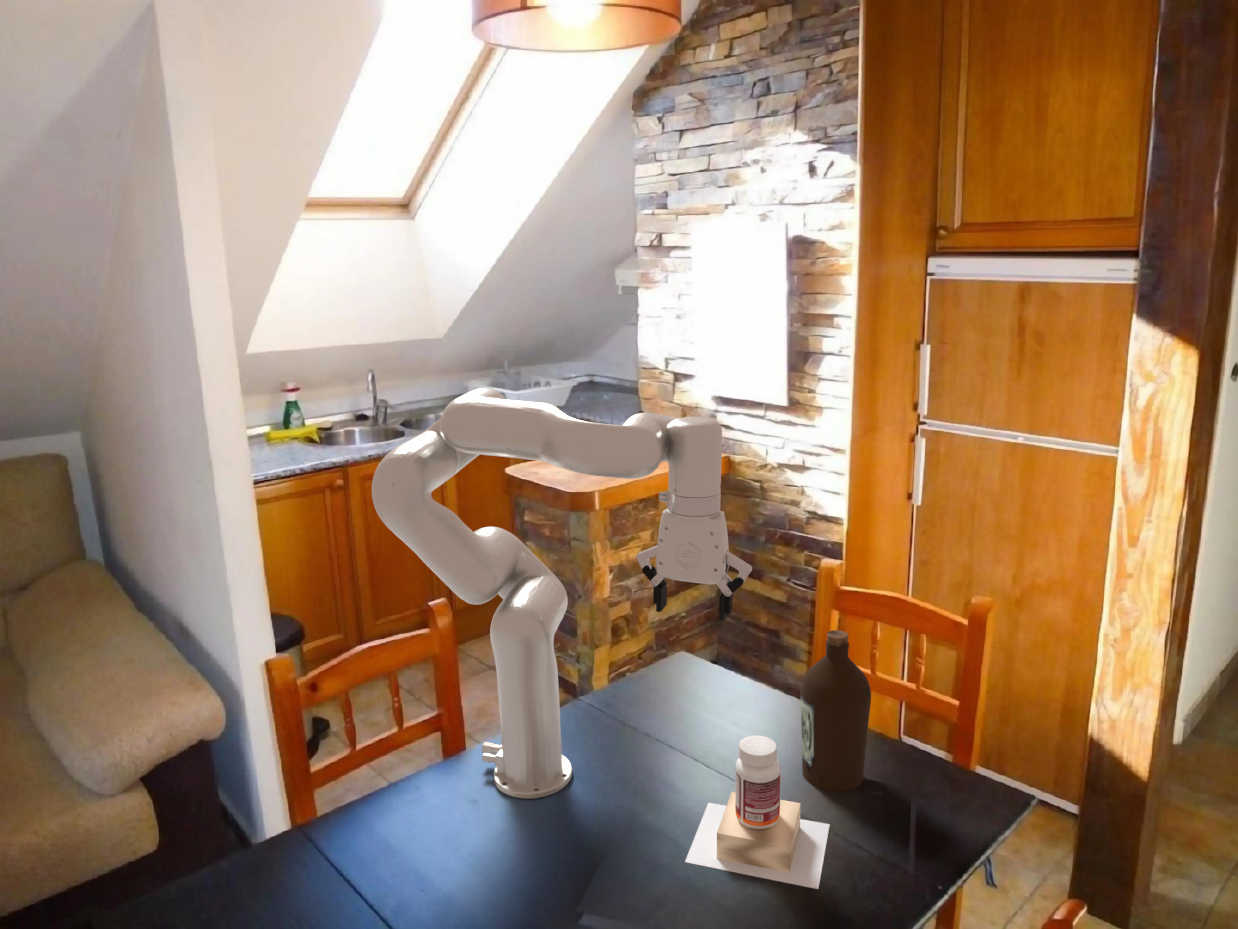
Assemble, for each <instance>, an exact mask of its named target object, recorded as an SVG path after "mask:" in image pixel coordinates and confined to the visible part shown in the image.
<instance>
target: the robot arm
mask: <svg viewBox="0 0 1238 929" xmlns="http://www.w3.org/2000/svg"><path fill="white" fill-rule="evenodd" d="M722 447H723V428H722V425H721V423H720V422H719V421H717V420H716V419H713V418H710V417H704V416H685V417H677V416H670V415H669V416H668V415H666V414H665V415H664V414H659V413H654V412H653V413H652V412H638V413H635V414H633V415H631V416H630V417H628V418H627V419H626V420H625V421H624V423H623V424H620V425H619V424H612V423H611V424H609V423H600V422H593V421H592V422H591V421H587V420H586V421H585V420H583V419H582V420H581V419H578V418H574V417H572V416H570V415H567V414H566V413H564V412H563V411H562V410H560V408H559V407H557V406H556V405H554V404H552V403H548V402H539V401H531V400H530V401H529V400H518V399H507V398H506V397H505V396H504V395H503V394H502V393H500V392H499V391H497V390H494V389H491V388H487V387H486V388H485V387H484V388H476V389H473V390H470V391H468V392H466V393H464V394H461V395H460V396H458V397H456V398H454V399H453V400H452V401H450V402H449V403H448V404H447V405H446V406H445V408H444V410H443V411H442V413H441V416H440V418H439V419H438V420H436V421H435V422H434V423H432V424H431V426H429V427H428V428H426V430H424V431H423V432H421V433H419V434H418V435H416V436H414V437H413V438H411V439H409V440H407V441H405V442H403V443H401V444H400V445H398V446H396V447H395V448H393V449H392V450H390V451H388V453H387V454H386V455H385V456H384V457H383V458H382V459H381V461H380V462H379V463H378V465H377V467H376V468H375V471H374V474H373V477H372V481H371V482H372V483H371V498H372V503H373V506H374V510H375V511H376V514H377V516H378V517H379V519H380V520H381V522H382V523H383V524H384V525H385V526H386V527H387V529H388V530H389V531H390V532H392V533H393V534H394V535H395V536H396V537H397V538H398V539H399V540H400V541H402V542H403V543H404V544H405V545H406V546H407V547H408V548H409V549H410V550H411V551H412V552H413V553H415V555H416V556H417V557H418V558H419V559H420V560H421V561H422V562H423V563H424V564H425V565H426V566H427V567H428V568H429V569H430V570H431V571H432V572H433V573H434V574H435V575H436V576H437V577H438V578H439V579H440V581H441V582H443V583H444V585H446V586H447V587H448V588H449V589H450V590H451V591H452V592H453V593H454V594H455V595H456V596H457V597H458V598H459V599H461V600H463V601H464V602H466V603H467V604H470V605H483V604H486V603H487V602H490V601H491V600H492V599H494V598H495V597H496V596H497V595H498V596H500V598H501V599H502V601H501V602H500V603H499V605H498V606H497V608H496V610H495V611H494V614H493V616H492V619H491V624H490V629H489V630H490V631H489V632H490V633H489V636H490V644H491V648H492V653H493V656H494V663H495V670H496V671H495V672H496V682H497V695H498V709H499V724H500V741H501V743H500V744H497V743H494V742H488V741H484V742H483V744H482V747H481V753H482V756H481V761H482V762H485V763H493V764H495V765H496V766H495V768H494V770H493V771H494V772H493V780H494V781H493V782H494V784H495V786H496V788H497V789H498V790H499V791H500V792H501V793H504V794H505V795H507V796H510V797H513V798H517V799H518V798H519V799H525V800H526V799H530V800H531V799H538V798H544V797H548V796H551V795H553V794H555V793H557V792H559V791H561V790H563V789H564V788H565V787H566V786H567V785H568V784H569V783H570V782H571V779H572V776H573V766H572V764H571V761H570V760H569V759H568V758H567V757H566V756H565V755H563V753H562V735H561V734H562V733H561V732H562V731H561V710H560V688H559V687H560V686H559V674H558V672H559V671H558V664H557V658H556V654H555V649H554V648H555V647H554V639H555V633H556V632H557V630H558V628H559V626H560V624H561V621H562V620H563V618H564V617H565V614H566V611H567V608H568V604H569V603H568V600H569V599H568V594H567V591H566V588H565V587H564V585H563V583H562V581H560V579H559V578H558V577H557V575H555V574H554V572H553V571H551V569H549V567H547V565H545V563H544V562H542V561H541V559H540V558H538V556H536V555H535V554H534V552H532V551H531V549H530V548H529V547H528V546H526V544H525V543H523V542H522V541H521V540H520V538H518V537H517V536H516V535H515V534H514V533H512V532H510V531H508V530H506V529H505V528H501V527H499V526H498V527H497V526H485V527H481V528H479V529H477V530H474V531H473V530H472V529H471V528H470V527H469V526H468V525H467V524H465V522H463V520H462V519H461V518H460V517H459V516H458V515H457V514H456V513H455V512H454V511H453V510H451V509H449V508H448V507H446V506H445V505H443V504H441V503H439V502H437V501H436V500H435V499H434V498H433V496H432V493H433V491H435V490H436V489H438V488H440V486H442V485H443V484H445V483H446V482H447V481H449V480H451V478H452V477H454V476H455V475H456V474H457V473H459V472H460V471H461V470H462V469H464V468H465V467H466V466H467V465H469V463H471V462H472V461H473V460H475V459H476V458H477V457H479V456H480V455H482V456H492V457H493V456H494V457H501V458H503V457H504V458H513V459H519V460H520V459H521V460H532V461H540V462H544V463H547V464H550V465H552V466H554V467H556V468H557V467H558V468H560V469H564V470H566V471H571V472H574V473H576V474H577V473H578V474H582V475H589V476H595V477H603V478H604V477H605V478H615V479H624V480H625V479H627V480H629V479H630V480H633V479H640V478H645V477H647V476H650V475H651V474H653V473H654V472H655V471H657V469H658V468H659V466H660V465H661V463H663V462H666V463H667V464H668V488H667V491H664V492H663V491H660V492H659V494H658V500H659V502H663V503H665V504H666V508H665V509H663V511H662V512H661V517H660V521H659V529H658V534H657V535H658V536H657V545H655V546H651V547H649V548H647V549H644V550H642V551H640V552H638V553H637V554H636V561H637V563H638V564H639V566H640V567H641V569H642V570H641V572H642V574H643V575H644V576H645V577H646V579H648V580H649V582H650V585H651V587H653V589H652V590H653V592H652V593H653V596H652V598H653V601H652V602H653V604H654V605H655V612H657V613H661V612H662V611H663V610H664V608H665V607H666V606H667V604H668V603H667V602H668V598H667V597H668V582H667V580H674V581H678V582H679V581H680V582H685V583H686V582H687V583H696V584H703V585H704V584H705V585H716V586H717V587H718V589H719V590H720V591H721V594H720V595H719V600H718V601H719V602H718V604H719V606H718V607H719V608H718V620H719V621H720V622H725V620H727V617H728V615H731V614H732V612H733V595H734V594H733V593H735V592H736V591H737V590H738V589H739V588H740V587H742V586H743V585H744V583H745V581H746V580H747V578H748V577H749V575H750V573H751V572H752V570H753V566H752V565H751V564H750V563H747V562H746V561H744V560H743V559H742V558H740V557H738V556H736V555H735V554H733V553H732V552H730V551H729V550H730V548H729V547H730V546H729V536H728V534H729V533H728V527H727V525H728V524H727V521H726V516H725V511H723V510H721V497H722V496H721V494H722V493H721V490H722V487H721V486H722V458H723V457H722V453H723V452H722V451H723V448H722ZM652 558H655V567H654V565H653V564H652V563H651V561H650V559H652ZM730 567H732V568H734V569H735V570H737V571H738V575H737V576H736V577H735V578H734V579H732V578H731V577H730V576H729V573H728V572H729V568H730ZM666 579H667V580H666Z"/></svg>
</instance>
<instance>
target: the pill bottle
mask: <svg viewBox="0 0 1238 929" xmlns="http://www.w3.org/2000/svg"><path fill="white" fill-rule="evenodd" d="M777 751H778V748H777V744H776V742H775V741H774V740H773V739H771V738H770V737H767V736H763V735H748V736H746V737H744V738H742V739H741V740H740V741H739V746H738V759H737V760H736V763H735V768H734V769H735V775H734V776H735V788H734V789H735V791H734V792H735V809H736V817H737V819H738V820H739V822H740V823H742V824H743V825H744V826H746V827H749V828H753V829H766V828H770V827H772V826H774V825H775V824H776V823H777V822H778V820H779V817H780V800H781V764H780V762H779V760H777V759H778V752H777Z"/></svg>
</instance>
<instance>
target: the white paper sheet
mask: <svg viewBox="0 0 1238 929" xmlns="http://www.w3.org/2000/svg"><path fill="white" fill-rule="evenodd" d="M726 806H727V805H725V804H718V803H713V802H708V803H707V806H706V808H705V810H704V813H703V816H702V818H701V819H700V820H701V821H700V823H699V825H698V828H697V830H696V833H695V836H694V838H693V840H692V842H691V845H690V848H689V851H688V853H687V856H686V858H685V861H684V863H687V864H692V865H696V866H697V865H698V866H700V867H701V866H702V867H708V868H712V869H716V870H720V871H726V872H732V873H737V874H742V875H747V876H752V877H756V878H761V879H765V880H766V879H767V880H770V881H776V882H781V883H784V884H791V885H796V886H799V887H800V886H801V887H805V888H811V889H815V890H819V889H820V888H819V887H820V883H821V878H822V877H821V875H822V871H823V865H824V859H825V854H826V848H827V842H828V835H829V831H830V826H831V824H830V823H824V822H820V821H813V820H808V819H802V818H800V830H799V834H798V839H797V843H796V848H795V852H794V856H793V861H792V865H791V870H790V873H788V872H783V871H778V870H773V869H768V868H763V867H758V866H753V865H748V864H743V863H738V862H733V861H728V860H723V859H718V858H717V831H718V828H719V825H720V823H721V820H722V817H723V814H724V812H725V809H726Z"/></svg>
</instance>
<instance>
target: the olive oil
mask: <svg viewBox="0 0 1238 929" xmlns="http://www.w3.org/2000/svg"><path fill="white" fill-rule="evenodd" d="M826 639H827V640H826V641H825V655H824V656H823V657H822V658H820V659H819V660H818V661H817V662H815V663H814V664H812V666H810V667H809V669H807V670H806V673H805V674H804V676H803V679H802V682H801V685H800V691H799V692H800V693H799V694H800V719H801V761H802V762H801V764H802V765H801V766H802V768H801V771H802V772H801V773H802V776H803V778H804V780H805V781H806V782H808V784H810V785H811V786H813V787H815V788H817V789H820V790H824V791H828V792H833V793H834V792H835V793H839V792H840V793H841V792H842V793H843V792H848V791H853V790H855V789H857V788H859V787H860V786H861V785H862V783H863V782H864V774H865V773H864V772H865V760H866V759H865V758H866V751H867V750H866V749H867V739H868V738H867V737H868V730H869V721H870V720H869V719H870V711H871V703H872V702H871V701H872V691H871V690H872V689H871V687H870V684H869V683H870V682H869V680H868V677H867V676H866V674H865V673H864V672H863V670H862V669H860V667H859V666H857V664H855V663H854V662H853V660H851V659H850V657H849V651H850V650H849V648H850V645H849V644H850V643H849V634H848V633H847V632H846V631H843V630H839V629H836V630H830V631H828V632H827V633H826Z"/></svg>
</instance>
